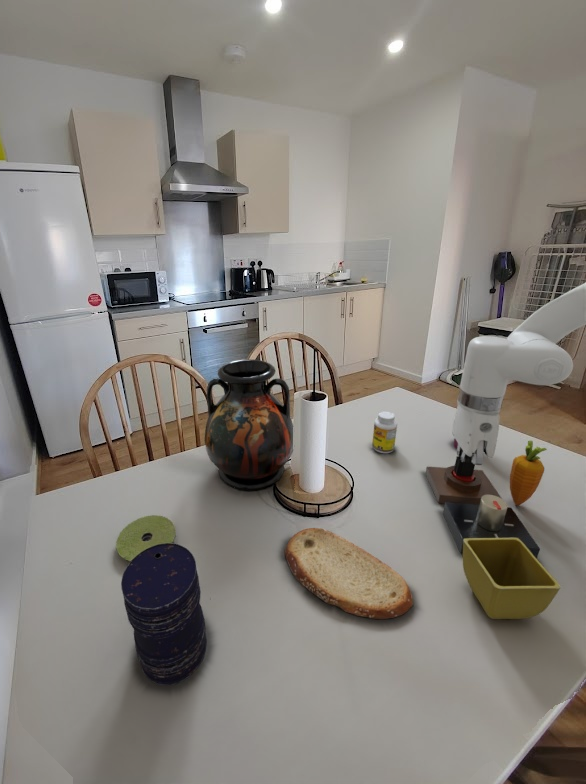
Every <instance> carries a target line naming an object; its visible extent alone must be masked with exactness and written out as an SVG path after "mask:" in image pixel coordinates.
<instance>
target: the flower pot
mask: <svg viewBox="0 0 586 784" xmlns="http://www.w3.org/2000/svg"><path fill="white" fill-rule="evenodd" d="M462 568H463V572H464V576H465V579H466V580H467V583H468V586H469V587H470V589H471V591H472V593H473V595H474V596H475V598H476V599H477V600H478V602H479V604H480V605H481V607H482V609H483V610H484V613H485V614H486V616H487V617H488V618H490V619H492V620H522V619H523V620H524V619H528V618H532V617H536V616H538V615H540V614H542V613H544V612H545V610H546V609H547V608H548V607H549V606H550V605H551V603H552V602H553V600H554V599H555V597H556V595H557V594H558V592H559V591H560V590H561V588H562V587H561V584H559V582H558V581H557V580H556V578H554V576H553V575H552V574H551V573H550V572H549V571H548V570H547V569H546V568H545V566H543V564H542V563H540V561H539V560H538V558H537V559H536V558H535V557H534V555H533V554H532V553H531V552H530V550H529V549H528V548H527V547H526V546H525V544H524V543H523V542H522V541H521V540H520V539H518V538H466V539H463V554H462Z"/></svg>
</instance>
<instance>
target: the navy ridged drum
mask: <svg viewBox="0 0 586 784" xmlns="http://www.w3.org/2000/svg"><path fill="white" fill-rule="evenodd" d="M120 582H121V583H120V588H121V592H122V593H121V594H122V596H123V603H124V607H125V611H126V616H127V620H128V621H129V624H130V626H131V627H132V629H133V641H134V648H135V650H136V656H137V658H138V661H139V664H140V667H141V670H142V672H143V674H144V675H145V676H146V678H147V679H148V680H150V681H151V682H152V683H154V684H156V685H160V686H173V685H177V684H179V683H181V682H183V681H185V680H186V679H188V678H190V676H192V675H193V674H194V673H195V671H197V669H199V666H200V665H201V663H202V661H203V660H204V657H205V655H206V654H205V653H206V650H207V643H208V642H207V633H206V630H207V628H206V620H205V616H204V611H203V608H202V606H201V593H202V592H201V586H200V585H201V584H200V577H199V573H198V569H197V561H196V558H195V556H194V554H193V553H192V552H191V551H190V549H188V548H187V547H185V546H183V545H181V544H178V543H173V542H172V543H163V544H158V545H154V546H152V547H149V548H147V549H145V550H144V551H142V552H140V553H139V554H138V555H137V556H135V557H134V558H133V559H132V560H131V561H129V562H128V563H127V566H126V567H125V569H124V571H123V573H122V576H121V581H120Z"/></svg>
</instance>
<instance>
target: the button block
mask: <svg viewBox="0 0 586 784" xmlns="http://www.w3.org/2000/svg"><path fill="white" fill-rule="evenodd" d="M454 467H455V465H451V466H447V467H443V466H442V467H441V466H439V467H438V466H426V468H425V473H424V474H425V477H426V479H427V481H428V483H429V485H430V488H431V490H432V492H433V495H434V497H435V499H436V501H437V503H438V504H443V505H445V502H451V503H463V504H475V505H480V501H481V497H482V496H483V495H494V496H497V497H499V498H501V499H503V498H502V497H501V495H500V493H499V492H498V491H497V489H496V488H495V486H494V485H493V482H491V480H490V478H488V476H487V475H486V473H485V472H484V470H483V469H474V471H473V475H474V481H473V482H463V481H460V480H458V479H456V478H455V477H453V471H454Z"/></svg>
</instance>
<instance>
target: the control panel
mask: <svg viewBox="0 0 586 784" xmlns="http://www.w3.org/2000/svg"><path fill="white" fill-rule="evenodd" d="M478 509H479V505H475V504H463V503H451V502H445V504H443V510H442V515H443V517H444V520H445V522H446V524H447V526H448V529H449V530H450V533H451V535H452V538H453V539H454V542H455V544H456V547H457V548H458V551H459V553H460V554H462V555H463V539H466V538H518V539H520V540H521V541H522V542H523V543H524V544H525V546H526V547H527V548H528V549H529V550H530V552H531V553H532V554H533V555H534V557H535V558H536V559H537V560H538V557H539V553H540V551H541V548H540V546H539V545H538V544H537V542H536V540H534V538H533V536H532V535H531V534H530V532H529V531H528V529H527V528H526V527H525V525H524V524H523V522H522V521H521V520H520V518H519V516H518V515H517V514H516V512H515V511H514V509H513V508H512V507H510V506H508V507H507V511H506V514H505V518H504V521H503V525H502V528H501V530H499V531H489V530H487V529H484V528H483V527H481V526H480V525H479V524H478V523H477V521H476V517H477V513H478Z"/></svg>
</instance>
